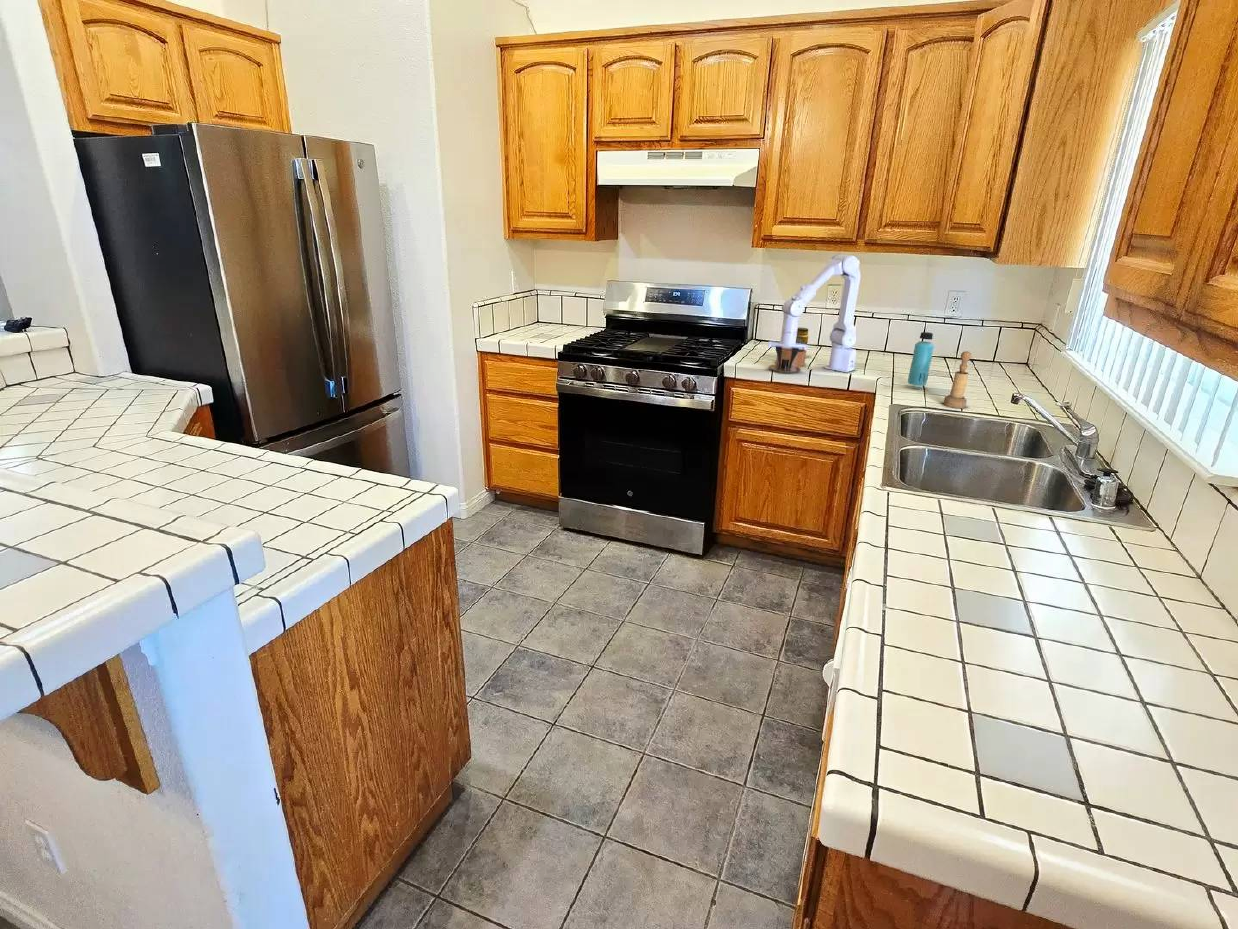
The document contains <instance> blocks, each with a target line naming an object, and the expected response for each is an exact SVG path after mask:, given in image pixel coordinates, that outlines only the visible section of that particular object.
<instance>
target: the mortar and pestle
mask: <svg viewBox="0 0 1238 929" xmlns="http://www.w3.org/2000/svg"><path fill="white" fill-rule="evenodd" d="M971 358H972V353H971V351H962V352H961V354H960V359H961V364H959V370H957V371H955V372H954V376H953V381H952V384H951V385H952V386H951V388H950V394H947V395H946V396H945V397H944V399H943V405H944V406H946V407H949V408H954V409H964V408H966V405H967V402H968V400H967V399H966V397H964V395H965V390H966V386H967V382H968V378H969V375H970V374H969V372H967V371H966V370H967V369H968V364H967V363H968V362H969V361H970V360H971Z"/></svg>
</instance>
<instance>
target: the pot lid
mask: <svg viewBox="0 0 1238 929" xmlns="http://www.w3.org/2000/svg"><path fill="white" fill-rule="evenodd" d="M788 364H789V359H785V358H784V359H782V364H781V366H780V367H779V364H777V363H776V364H770V365H768V369H769V370H771V371H774V372H776V373H782V374H794V373H799V372H801V368H800V367H796V366H792V365H791V368H789V365H788Z"/></svg>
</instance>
